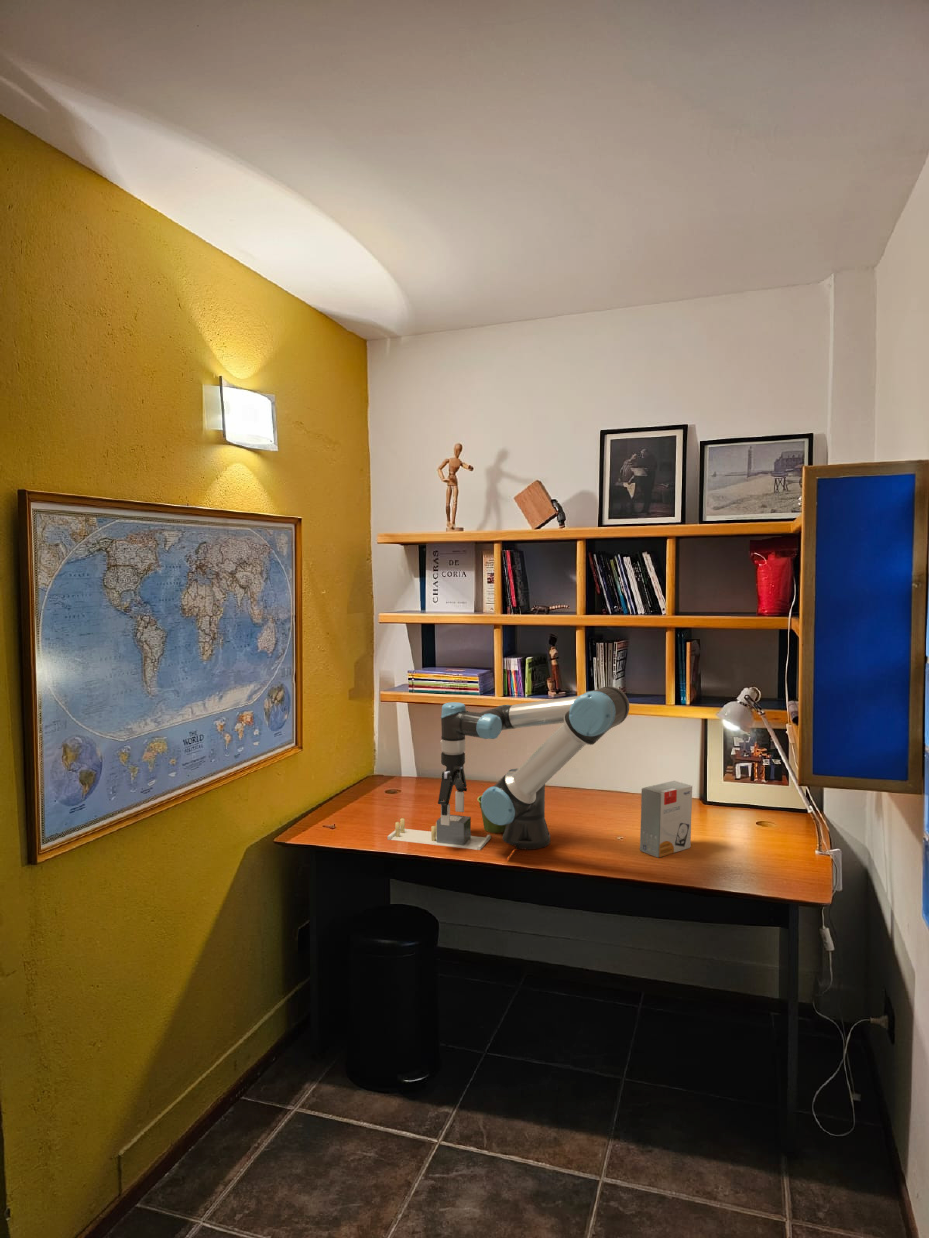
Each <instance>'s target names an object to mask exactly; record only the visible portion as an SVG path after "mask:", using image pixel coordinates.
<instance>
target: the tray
mask: <svg viewBox="0 0 929 1238" xmlns="http://www.w3.org/2000/svg"><path fill="white" fill-rule="evenodd" d="M399 820H400V822H399V821H396V822H395V824H394V826H395V827H394V828H395V829H394V831H392V832H391V833H390V834H388V835H387V841H389V840H390V841H399V842H407V843H415V844H425V845H433V846H442V847H450V848H458V849H459V848H460V849H467V850H468V849H469V850H474V851H475V850H476V851H477V850H478V851H481V850H482V849H483V848H484V847H485V845H486V844H487V843H488V842H489V841H490V840H491V835H490V834H487V835H486V836H485V837H484V836H476V835H474V836H473V835H471V838H470V840H469V841H468V842H467V843H466V844H465V845H464V846H463V845H454V844H445V843H437V821H436V822H435V825H431V827H430V829H431V830H429V831H428V830H420V829H418V830H417V829H411V828H406V827H405V818H403V817H402V818H400V819H399Z"/></svg>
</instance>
